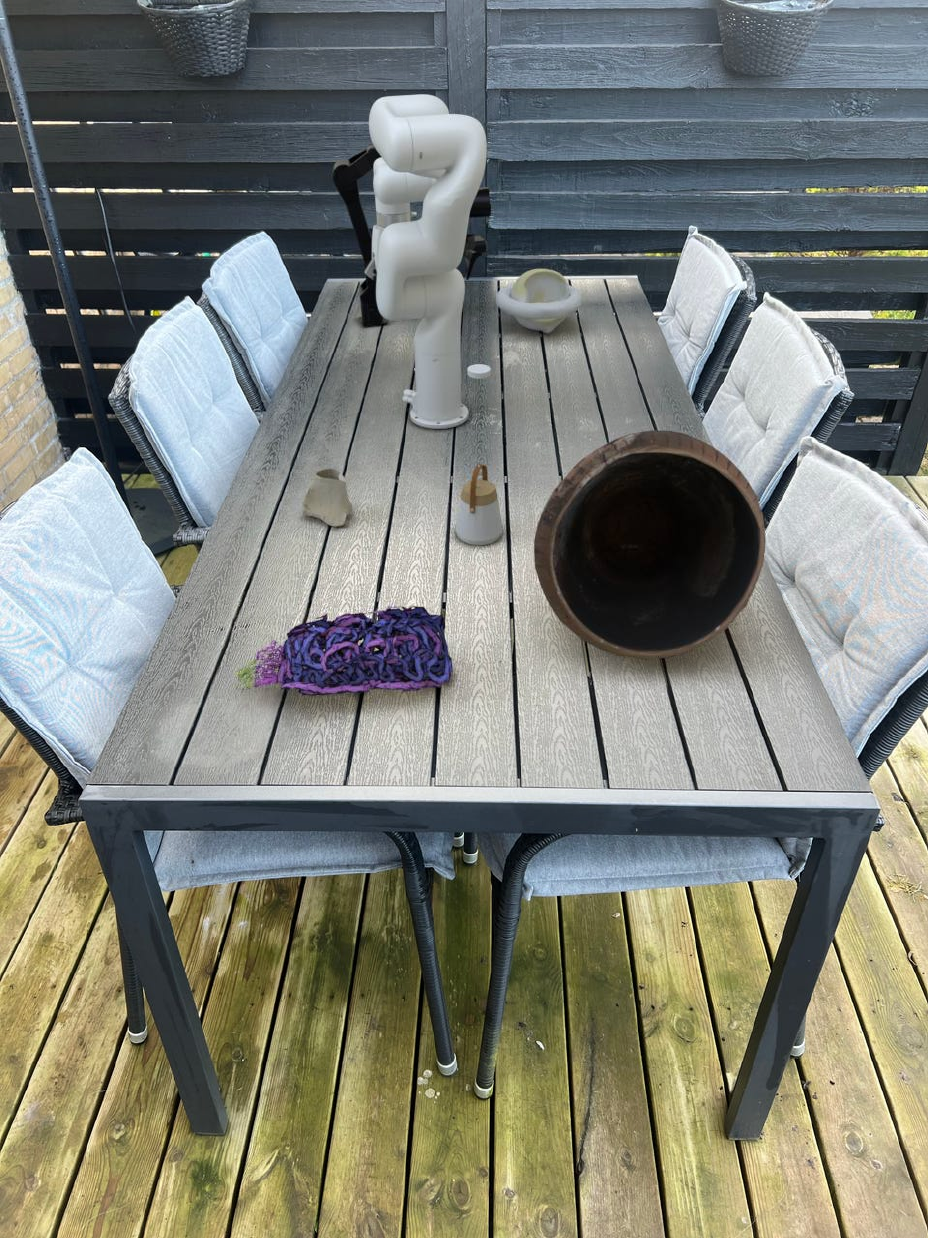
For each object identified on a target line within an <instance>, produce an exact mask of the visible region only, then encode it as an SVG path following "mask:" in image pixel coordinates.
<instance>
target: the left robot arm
mask: <svg viewBox="0 0 928 1238" xmlns="http://www.w3.org/2000/svg"><path fill="white" fill-rule="evenodd" d="M378 158H381V155H380V154H379V153H378V151H377V150H376V148H375V147H374V145H373V144H369V145H368V147H366V148H365V149H364V150H361V151H360V152H357V153H355V154H353V155H352V156H351V157H348V158H347V159H345V158H341V159H339V160H337V161H336V162H335V163H334V165H333V167H332V182H333V184H334V186H335V188H336V190H337V192H338V194H339V196H340V198H341V200H342V201H343V203H344V205H345V207H346V209H347V212H348V216H349V220H350V222H351V225H352V228H353V231H354V234H355V238H356V242H357V245H358V248H359V250H360V254H361V257H362V260H363V266H364V271H365V270H366V268H367V266H368V265H369V263H370V262H371V260H372V233H371V230H370V228H369V227H370V226H369V223H368V221H367V217H366V214H365V210H364V208H363V205H362V201H361V197H360V189H359V182H358V180H360V179H361V178H362V177H364V176H365V175H366V174H367V173H369V172H370V171H371V170H372V169H374V168H373V166H374V162H375V161H376V160H377V159H378ZM490 194H491V193H490V188H489V187H488V186H482V187H479V190H478V192H477V194H476V197H475V199H474V201H473V204H472V207H471V209H470V214H469V219H472V218H473V219H474V218H491V215H492V203H491V195H490ZM488 248H489V246H488V242H487V240H486V239H485V238H483V237H482V236H481V235H474V233H473V232H472V233H467V234H466V240H465V247H464V252H463V256H462V257H464V258H465V260H464V263H465V264H464V265H465V266H464V272H465V273H464V274H465V280H466V281H469V280H470V277H471V274H472V271H473V268H474V266H475V263H476V261H477V260H478V258H479V257H482V256H483V255H484V254H485V253H488V250H489V249H488ZM373 273H374V274H376V275H377V271H376V269H374V270H373ZM364 274H365V273H364ZM364 276H365V279H364V280H363V281H362V283H360V285H359V286H358V289H359V291H358V292H359V301H360V302H359V304H360V313H361V315H360V316H358V317H357V319H358V321H359V322H360V324H361V326H362V327H363V328H367V327H376V326H382V325H388V320H387V319H385V318H384V317H383V316H382V315H381V314H380V312H379V310H378V306H377V300H376V282H375V281H374V280H373V279H371V278H370V277H368V276H367V275H366V274H365V275H364Z"/></svg>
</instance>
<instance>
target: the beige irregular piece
mask: <svg viewBox="0 0 928 1238" xmlns="http://www.w3.org/2000/svg"><path fill="white" fill-rule="evenodd" d="M347 489H348V488H347V480H346V478H345V476H344V475H343V474H342V473H341V472H340V471H338V470H337V469H334V468H326V469H321V470H319V471H316V473H315V475H314V476H313V478H312V481H311V482H310V485H309V486H308V487H307V490H306V491H305V493H304V496H303V498H302V508H301V513H302V514H303V515H305V516H307V517H314V518H317V519H319V520H322V521H323V522H324V523H325V524H327V525H328V526H330V527H334V528H336V527H342V526H344V525H345V524H346V520H347V516H348V515H349V514H351V512H352V511H353V503H352V502H351V501H350V499H349V495H348V490H347Z"/></svg>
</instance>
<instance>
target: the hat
mask: <svg viewBox="0 0 928 1238" xmlns="http://www.w3.org/2000/svg"><path fill="white" fill-rule="evenodd" d="M495 303H496V305H497V307H498V308H499V309H500V311H502V312H503V313H505V314H507V315H510V316H513V317H514V318H515V319H516V321H517V322H518V323H519V324H520V325H521V326H523V328H526V329H529V330H531V331H536V332H537V331H539V332H542V333H545V334H550V333H551V332H553V331H554V330H555V328H557V327H558V325H560V324H561V323H562V322H563V321H564V320H565V319H566V318H567V317H568V316H570V315H572V314H574V313H575V312H577V311H578V310H579V309H580V308H581V306H582V303H583V295H582V293H581V292H580V291H579V290H578V289H577V288H575V287H574V286H572V285H570V284H569V283H568V282H567V280H566V278H565V277H564V275H563V274H561V273H560V272H559V271H556V270H553V269H548V268H535V269H530V270H527V271H525V272H523V273H522V274H521V275H520V276H519V277H518V278H517V279H516V281H515V282H513V283H509V284H507V285H505V286H503V287H501V288H500V290H498V292H497V293H496V295H495Z"/></svg>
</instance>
